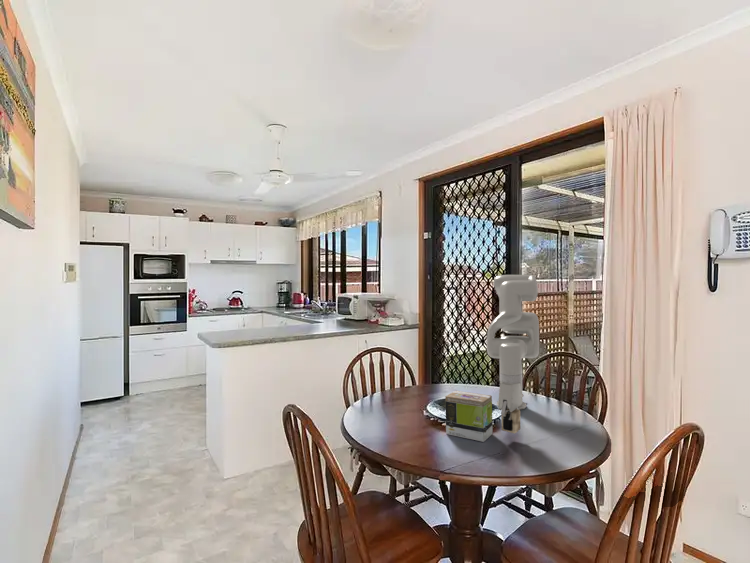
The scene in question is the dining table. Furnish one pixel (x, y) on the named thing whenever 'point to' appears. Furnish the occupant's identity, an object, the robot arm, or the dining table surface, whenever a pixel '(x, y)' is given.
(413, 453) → the dining table surface
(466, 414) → the tea box
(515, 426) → the maple block
